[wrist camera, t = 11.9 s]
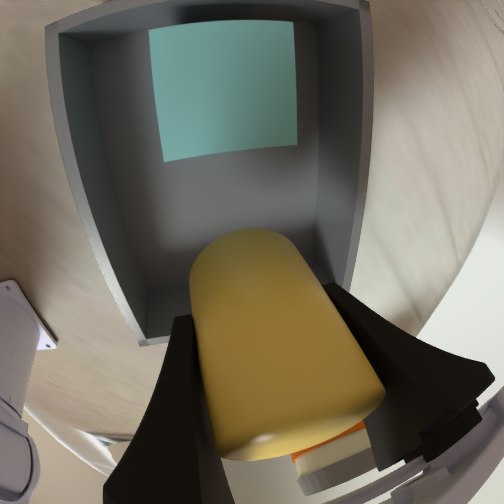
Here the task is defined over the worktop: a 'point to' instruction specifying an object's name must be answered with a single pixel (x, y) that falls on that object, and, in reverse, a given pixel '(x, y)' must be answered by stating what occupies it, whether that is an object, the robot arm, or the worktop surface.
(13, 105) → the worktop surface
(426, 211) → the worktop surface
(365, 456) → the reusable coffee cup
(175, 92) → the cube
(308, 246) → the tote
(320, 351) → the cylinder
